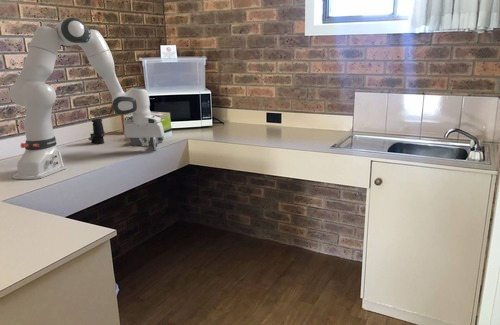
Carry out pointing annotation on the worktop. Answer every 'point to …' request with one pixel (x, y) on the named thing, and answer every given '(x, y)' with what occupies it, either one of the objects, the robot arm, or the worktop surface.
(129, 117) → the baking soda box
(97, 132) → the scope
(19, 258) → the worktop surface
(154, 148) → the side door
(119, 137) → the worktop surface
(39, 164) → the robot arm
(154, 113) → the tea box
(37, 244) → the worktop surface
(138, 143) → the box
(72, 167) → the worktop surface
